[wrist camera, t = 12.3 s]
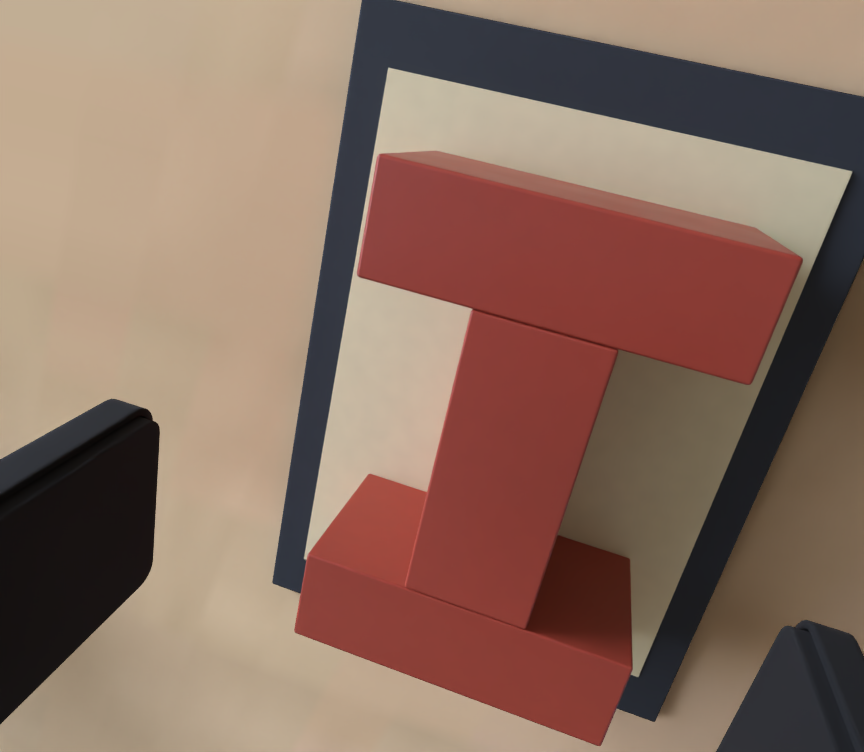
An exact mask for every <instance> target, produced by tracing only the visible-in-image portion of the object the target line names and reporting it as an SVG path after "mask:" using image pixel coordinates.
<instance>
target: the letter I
mask: <svg viewBox="0 0 864 752" xmlns="http://www.w3.org/2000/svg"><path fill="white" fill-rule="evenodd" d="M802 263H803V258H802V257H800V256H799V255H797V254H796V253H794V252H793V251H791V250H789V249H788V248H786V247H785V246H783V245H782V244H780V243H779V242H777V241H775V240H774V239H772V238H771V237H769V236H768V235H766V234H765V233H763V232H761V231H760V230H758V229H757V228H755V227H751V226H747V225H743V224H739V223H734V222H730V221H726V220H722V219H718V218H714V217H710V216H705V215H701V214H697V213H693V212H689V211H685V210H681V209H676V208H672V207H668V206H664V205H660V204H656V203H652V202H647V201H643V200H639V199H635V198H631V197H627V196H623V195H618V194H614V193H610V192H606V191H602V190H598V189H594V188H590V187H585V186H581V185H577V184H573V183H569V182H565V181H561V180H556V179H552V178H548V177H544V176H540V175H536V174H532V173H527V172H523V171H519V170H515V169H511V168H507V167H503V166H498V165H494V164H490V163H486V162H482V161H478V160H474V159H469V158H465V157H461V156H457V155H453V154H449V153H445V152H440V151H418V152H400V153H382V154H378V156H377V160H376V165H375V171H374V177H373V183H372V188H371V194H370V200H369V206H368V211H367V217H366V223H365V229H364V234H363V240H362V246H361V252H360V257H359V263H358V269H357V276H358V277H360V278H363V279H367V280H371V281H374V282H378V283H381V284H385V285H389V286H392V287H396V288H399V289H403V290H406V291H410V292H414V293H417V294H421V295H424V296H428V297H432V298H435V299H439V300H442V301H446V302H450V303H453V304H457V305H460V306H464V307H468V308H471V309H473V310H472V311H471V313H470V317H469V321H468V325H467V329H466V333H465V337H464V341H463V346H462V350H461V354H460V358H459V362H458V366H457V370H456V375H455V379H454V383H453V387H452V391H451V395H450V399H449V403H448V408H447V412H446V416H445V420H444V424H443V428H442V432H441V436H440V441H439V445H438V449H437V453H436V457H435V461H434V465H433V469H432V474H431V478H430V482H429V486H428V490H427V492H425V491H422V490H419V489H416V488H413V487H410V486H407V485H404V484H401V483H397V482H394V481H391V480H388V479H385V478H382V477H379V476H376V475H373V474H368V475H367V476H366V478H365V479H364V480H363V482H362V483H361V484H360V486H359V487H358V488H357V490H356V491H355V492H354V494H353V495H352V496H351V498H350V499H349V500H348V501H347V503H346V504H345V505H344V507H343V508H342V509H341V511H340V512H339V513H338V515H337V516H336V517H335V519H334V520H333V521H332V523H331V524H330V525H329V527H328V528H327V529H326V531H325V532H324V533H323V535H322V536H321V537H320V539H319V540H318V541H317V543H316V544H315V545H314V547H313V548H312V549H311V551H310V552H309V553H308V555H307V560H306V566H305V572H304V578H303V583H302V589H301V595H300V601H299V606H298V612H297V618H296V623H295V629H294V631H295V633H297V634H300V635H303V636H305V637H308V638H311V639H313V640H316V641H319V642H322V643H324V644H327V645H330V646H332V647H335V648H338V649H340V650H343V651H346V652H348V653H351V654H354V655H356V656H359V657H362V658H364V659H367V660H370V661H372V662H375V663H378V664H380V665H383V666H386V667H388V668H391V669H394V670H396V671H399V672H402V673H404V674H407V675H410V676H412V677H415V678H418V679H420V680H423V681H426V682H428V683H431V684H434V685H436V686H439V687H442V688H445V689H447V690H450V691H453V692H455V693H458V694H461V695H463V696H466V697H469V698H471V699H474V700H477V701H479V702H482V703H485V704H487V705H490V706H493V707H495V708H498V709H501V710H503V711H506V712H509V713H511V714H514V715H517V716H519V717H522V718H525V719H527V720H530V721H533V722H535V723H538V724H541V725H543V726H546V727H549V728H551V729H554V730H557V731H560V732H562V733H565V734H568V735H570V736H573V737H576V738H578V739H581V740H584V741H586V742H589V743H592V744H594V745H597V746H601V744H602V742H603V740H604V737H605V735H606V732H607V730H608V728H609V725H610V723H611V720H612V718H613V716H614V713H615V711H616V708H617V706H618V704H619V701H620V699H621V697H622V694H623V692H624V689H625V687H626V685H627V682H628V680H629V677H630V675H631V673H632V670H633V653H632V613H631V572H630V559H629V558H627V557H624V556H621V555H618V554H615V553H612V552H609V551H605V550H602V549H599V548H596V547H593V546H590V545H587V544H584V543H581V542H578V541H575V540H572V539H569V538H566V537H563V536H560V535H558V533H559V530H560V527H561V524H562V521H563V518H564V515H565V512H566V509H567V506H568V503H569V500H570V497H571V494H572V491H573V488H574V485H575V482H576V479H577V476H578V473H579V470H580V467H581V464H582V461H583V458H584V455H585V452H586V449H587V446H588V443H589V440H590V437H591V434H592V431H593V428H594V425H595V422H596V419H597V416H598V413H599V410H600V407H601V404H602V401H603V398H604V395H605V392H606V389H607V386H608V383H609V380H610V377H611V374H612V371H613V368H614V365H615V362H616V359H617V356H618V349H619V350H622V351H626V352H629V353H633V354H636V355H640V356H644V357H647V358H651V359H654V360H658V361H662V362H665V363H669V364H672V365H676V366H680V367H683V368H687V369H690V370H694V371H698V372H701V373H705V374H708V375H712V376H716V377H719V378H723V379H726V380H730V381H733V382H737V383H741V384H744V385H751V383H752V382H753V380H754V378H755V375H756V373H757V371H758V368H759V366H760V363H761V361H762V359H763V356H764V354H765V351H766V349H767V347H768V344H769V342H770V339H771V337H772V335H773V332H774V330H775V328H776V325H777V323H778V320H779V318H780V316H781V313H782V311H783V308H784V306H785V304H786V301H787V299H788V296H789V294H790V292H791V289H792V287H793V284H794V282H795V280H796V277H797V275H798V272H799V270H800V268H801V265H802Z"/></svg>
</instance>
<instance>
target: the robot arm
mask: <svg viewBox="0 0 864 752" xmlns="http://www.w3.org/2000/svg"><path fill="white" fill-rule="evenodd" d="M159 436H160V430H159V426H158V424H157V423H156V422H154V421H153V419H152V415H151V413H150V411H148V410H147V409H145V408H142V407H138V406H135V405H132V404H129V403H126V402H123V401H120V400H117V399H110V400H107V401H105V402H103V403H101V404H99V405H97V406H96V407H94V408H92V409H90V410H88V411H87V412H85V413H83V414H81V415H79V416H78V417H76V418H74V419H72V420H70V421H69V422H67V423H65V424H63V425H61V426H60V427H58V428H56V429H54V430H52V431H51V432H49V433H47V434H45V435H44V436H42V437H40V438H38V439H36V440H35V441H33V442H31V443H29V444H27V445H26V446H24V447H22V448H20V449H18V450H17V451H15V452H13V453H11V454H9V455H8V456H6V457H4V458H2V459H0V724H1V723H2V722H3V721H4V720H5V719H6V718H7V717H8V716H9V715H10V714H11V713H12V712H13V711H14V710H15V709H16V708H17V707H18V706H19V705H20V704H21V703H22V702H23V701H24V700H25V699H26V698H27V697H28V696H29V695H30V694H31V693H32V692H33V691H34V690H36V689H37V688H38V687H39V686H40V685H41V684H42V683H43V682H44V681H45V680H46V679H47V678H48V677H49V676H50V675H51V674H52V673H53V672H54V671H55V670H56V669H57V668H58V667H59V666H60V665H61V664H62V663H63V662H64V661H65V660H66V659H67V658H68V657H69V656H70V655H71V654H72V653H73V652H74V651H75V650H76V649H77V648H78V647H79V646H80V645H81V644H82V643H83V642H84V641H85V640H86V639H87V638H88V637H89V636H90V635H91V634H92V633H93V632H94V631H95V630H96V629H97V628H98V627H99V626H100V625H101V624H102V623H103V622H104V621H105V620H106V619H107V618H108V617H109V616H110V615H111V614H112V613H113V612H115V611H116V610H117V609H118V608H119V607H120V606H121V605H122V604H123V603H124V602H125V601H126V600H127V599H128V598H129V597H130V596H131V595H132V594H133V593H134V592H135V591H136V590H137V589H138V588H139V587H140V586H141V585H142V583H143V582H144V581H145V579H146V578H147V576H148V574H149V572H150V570H151V566H152V562H153V547H154V529H155V510H156V492H157V473H158V454H159ZM716 752H864V656H863V654H862V651H861V649H860V647H859V645H858V643H857V641H856V640H855V638H854V637H853V636H852V635H851V634H849V633H846V632H843V631H840V630H837V629H834V628H830V627H827V626H824V625H821V624H818V623H815V622H812V621H809V620H803V621H801V622H800V623H798V624H797V626H796V627H791V626H784V627H783V628H782V629H781V631H780V632H779V634H778V635H777V637H776V639H775V641H774V643H773V645H772V647H771V649H770V651H769V653H768V654H767V656H766V658H765V660H764V662H763V664H762V666H761V668H760V670H759V671H758V673H757V675H756V677H755V679H754V681H753V683H752V685H751V687H750V689H749V690H748V692H747V694H746V696H745V698H744V700H743V702H742V704H741V706H740V708H739V709H738V711H737V713H736V715H735V717H734V719H733V721H732V723H731V725H730V726H729V728H728V730H727V732H726V734H725V736H724V738H723V740H722V742H721V744H720V745H719V747H718V749H717V751H716Z"/></svg>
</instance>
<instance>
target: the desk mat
mask: <svg viewBox="0 0 864 752" xmlns="http://www.w3.org/2000/svg"><path fill="white" fill-rule="evenodd" d="M418 151H440V152H445V153H449V154H453V155H457V156H461V157H465V158H469V159H474V160H478V161H482V162H486V163H490V164H494V165H498V166H503V167H507V168H511V169H515V170H519V171H523V172H527V173H532V174H536V175H540V176H544V177H548V178H552V179H556V180H561V181H565V182H569V183H573V184H577V185H581V186H585V187H590V188H594V189H598V190H602V191H606V192H610V193H614V194H618V195H623V196H627V197H631V198H635V199H639V200H643V201H647V202H652V203H656V204H660V205H664V206H668V207H672V208H676V209H681V210H685V211H689V212H693V213H697V214H701V215H705V216H710V217H714V218H718V219H722V220H726V221H730V222H734V223H739V224H743V225H747V226H751V227H755V228H757V229H758V230H760V231H761V232H763V233H765V234H766V235H768V236H769V237H771V238H772V239H774V240H775V241H777V242H779V243H780V244H782V245H783V246H785V247H786V248H788V249H789V250H791V251H793V252H794V253H796V254H797V255H799V256H800V257H802V258H803V263H802V265H801V268H800V270H799V272H798V275H797V277H796V280H795V282H794V284H793V287H792V289H791V292H790V294H789V296H788V299H787V301H786V304H785V306H784V308H783V311H782V313H781V316H780V318H779V320H778V323H777V325H776V328H775V330H774V332H773V335H772V337H771V339H770V342H769V344H768V347H767V349H766V351H765V354H764V356H763V359H762V361H761V363H760V366H759V368H758V371H757V373H756V375H755V378H754V380H753V382H752V383H751V385H744V384H741V383H737V382H733V381H730V380H726V379H723V378H719V377H716V376H712V375H708V374H705V373H701V372H698V371H694V370H690V369H687V368H683V367H680V366H676V365H672V364H669V363H665V362H662V361H658V360H654V359H651V358H647V357H644V356H640V355H636V354H633V353H629V352H626V351H622V350H619V349H618V356H617V359H616V362H615V365H614V368H613V371H612V374H611V377H610V380H609V383H608V386H607V389H606V392H605V395H604V398H603V401H602V404H601V407H600V410H599V413H598V416H597V419H596V422H595V425H594V428H593V431H592V434H591V437H590V440H589V443H588V446H587V449H586V452H585V455H584V458H583V461H582V464H581V467H580V470H579V473H578V476H577V479H576V482H575V485H574V488H573V491H572V494H571V497H570V500H569V503H568V506H567V509H566V512H565V515H564V518H563V521H562V524H561V527H560V530H559V533H558V535H560V536H563V537H566V538H569V539H572V540H575V541H578V542H581V543H584V544H587V545H590V546H593V547H596V548H599V549H602V550H605V551H609V552H612V553H615V554H618V555H621V556H624V557H627V558H629V559H630V572H631V613H632V653H633V670H632V673H631V675H630V677H629V680H628V682H627V685H626V687H625V689H624V692H623V694H622V697H621V699H620V701H619V704H618V706H617V709H620V710H623V711H625V712H628V713H631V714H634V715H636V716H639V717H642V718H645V719H648V720H650V721H653V722H655V721H656V718H657V716H658V714H659V712H660V709H661V707H662V705H663V703H664V701H665V698H666V696H667V694H668V692H669V689H670V687H671V685H672V683H673V681H674V678H675V676H676V674H677V672H678V669H679V667H680V665H681V663H682V661H683V658H684V656H685V654H686V652H687V649H688V647H689V645H690V643H691V641H692V638H693V636H694V634H695V632H696V630H697V627H698V625H699V623H700V621H701V618H702V616H703V614H704V612H705V610H706V607H707V605H708V603H709V601H710V598H711V596H712V594H713V592H714V590H715V587H716V585H717V583H718V581H719V578H720V576H721V574H722V572H723V570H724V567H725V565H726V563H727V561H728V558H729V556H730V554H731V552H732V550H733V547H734V545H735V543H736V541H737V538H738V536H739V534H740V532H741V530H742V527H743V525H744V523H745V521H746V518H747V516H748V514H749V512H750V510H751V507H752V505H753V503H754V501H755V498H756V496H757V494H758V492H759V490H760V487H761V485H762V483H763V481H764V478H765V476H766V474H767V472H768V470H769V467H770V465H771V463H772V461H773V458H774V456H775V454H776V452H777V450H778V447H779V445H780V443H781V441H782V438H783V436H784V434H785V432H786V430H787V427H788V425H789V423H790V421H791V418H792V416H793V414H794V412H795V410H796V407H797V405H798V403H799V401H800V398H801V396H802V394H803V392H804V390H805V387H806V385H807V383H808V381H809V379H810V376H811V374H812V372H813V370H814V367H815V365H816V363H817V361H818V359H819V356H820V354H821V352H822V350H823V347H824V345H825V343H826V341H827V339H828V336H829V334H830V332H831V330H832V327H833V325H834V323H835V321H836V319H837V316H838V314H839V312H840V310H841V307H842V305H843V303H844V301H845V299H846V296H847V294H848V292H849V290H850V287H851V285H852V283H853V281H854V279H855V276H856V274H857V272H858V270H859V267H860V265H861V263H862V261H863V259H864V97H861V96H856V95H852V94H847V93H842V92H837V91H832V90H827V89H822V88H818V87H813V86H808V85H803V84H798V83H793V82H789V81H784V80H779V79H774V78H769V77H764V76H759V75H755V74H750V73H745V72H740V71H735V70H730V69H726V68H721V67H716V66H711V65H706V64H701V63H696V62H692V61H687V60H682V59H677V58H672V57H667V56H663V55H658V54H653V53H648V52H643V51H638V50H633V49H629V48H624V47H619V46H614V45H609V44H604V43H600V42H595V41H590V40H585V39H580V38H575V37H570V36H566V35H561V34H556V33H551V32H546V31H541V30H537V29H532V28H527V27H522V26H517V25H512V24H507V23H503V22H498V21H493V20H488V19H483V18H478V17H474V16H469V15H464V14H459V13H454V12H449V11H444V10H440V9H435V8H430V7H425V6H420V5H415V4H410V3H406V2H401V1H396V0H362V3H361V10H360V16H359V23H358V29H357V36H356V42H355V49H354V55H353V62H352V68H351V75H350V81H349V88H348V94H347V101H346V107H345V114H344V120H343V127H342V133H341V140H340V146H339V153H338V159H337V166H336V172H335V179H334V185H333V192H332V198H331V205H330V212H329V218H328V225H327V231H326V238H325V244H324V251H323V257H322V264H321V270H320V277H319V283H318V290H317V296H316V303H315V309H314V316H313V322H312V329H311V335H310V342H309V348H308V355H307V361H306V368H305V374H304V381H303V387H302V394H301V400H300V407H299V413H298V420H297V426H296V433H295V439H294V446H293V452H292V459H291V465H290V472H289V478H288V485H287V491H286V498H285V504H284V511H283V517H282V524H281V530H280V537H279V543H278V550H277V556H276V563H275V569H274V576H273V584H276V585H279V586H281V587H284V588H287V589H290V590H292V591H295V592H298V593H301V589H302V583H303V578H304V572H305V566H306V560H307V555H308V553H309V552H310V551H311V549H312V548H313V547H314V545H315V544H316V543H317V541H318V540H319V539H320V537H321V536H322V535H323V533H324V532H325V531H326V529H327V528H328V527H329V525H330V524H331V523H332V521H333V520H334V519H335V517H336V516H337V515H338V513H339V512H340V511H341V509H342V508H343V507H344V505H345V504H346V503H347V501H348V500H349V499H350V498H351V496H352V495H353V494H354V492H355V491H356V490H357V488H358V487H359V486H360V484H361V483H362V482H363V480H364V479H365V478H366V476H367V475H368V474H373V475H376V476H379V477H382V478H385V479H388V480H391V481H394V482H397V483H401V484H404V485H407V486H410V487H413V488H416V489H419V490H422V491H425V492H427V490H428V486H429V482H430V478H431V474H432V469H433V465H434V461H435V457H436V453H437V449H438V445H439V441H440V436H441V432H442V428H443V424H444V420H445V416H446V412H447V408H448V403H449V399H450V395H451V391H452V387H453V383H454V379H455V375H456V370H457V366H458V362H459V358H460V354H461V350H462V346H463V341H464V337H465V333H466V329H467V325H468V321H469V317H470V313H471V311H472V310H473V309H471V308H468V307H464V306H460V305H457V304H453V303H450V302H446V301H442V300H439V299H435V298H432V297H428V296H424V295H421V294H417V293H414V292H410V291H406V290H403V289H399V288H396V287H392V286H389V285H385V284H381V283H378V282H374V281H371V280H367V279H363V278H360V277H358V276H357V269H358V263H359V257H360V252H361V246H362V240H363V234H364V229H365V223H366V217H367V211H368V206H369V200H370V194H371V188H372V183H373V177H374V171H375V165H376V160H377V156H378V154H382V153H400V152H418Z"/></svg>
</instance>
